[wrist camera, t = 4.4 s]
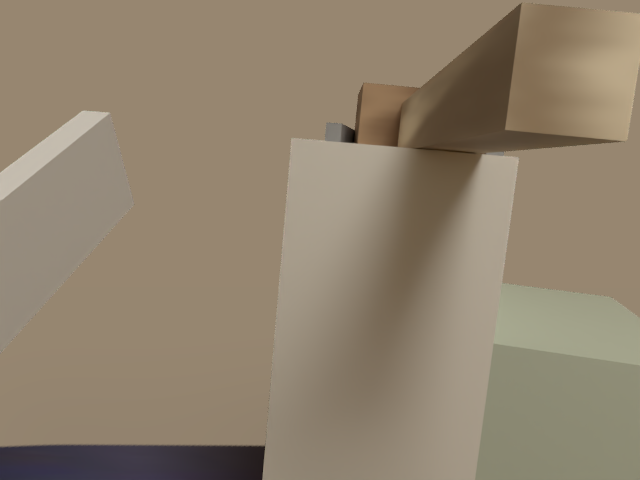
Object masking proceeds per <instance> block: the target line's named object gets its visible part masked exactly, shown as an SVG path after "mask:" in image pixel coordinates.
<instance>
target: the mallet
mask: <svg viewBox="0 0 640 480" xmlns="http://www.w3.org/2000/svg"><path fill="white" fill-rule="evenodd" d="M639 63H640V14H639V13H629V12H628V13H627V12H617V11H607V10H596V9H585V8H575V7H564V6H554V5H542V4H532V3H521V4H520V5H518V6H517V7H516V8H515V9H514V10H512V11H511V12H510V13H509V14H508V15H506V16H505V17H504V18H503V19H502V20H500V21H499V22H498V23H497V24H496V25H495V26H493V27H492V28H491V29H490V30H489V31H487V32H486V33H485V34H484V35H483V36H481V37H480V38H479V39H478V40H477V41H475V42H474V43H473V44H472V45H471V46H470V47H468V48H467V49H466V50H465V51H464V52H462V53H461V54H460V55H459V56H458V57H457V58H455V59H454V60H453V61H452V62H450V63H449V64H448V65H447V66H446V67H445V68H443V69H442V70H441V71H440V72H439V73H437V74H436V75H435V76H434V77H433V78H432V79H430V80H429V81H428V82H427V83H426V84H424V85H423V86H422V87H421V88H415V87H404V86H394V85H383V84H372V83H363V85H362V87H361V90H360V92H359V95H358V104H357V113H356V123H355V134H354V143H356V144H368V145H380V146H391V147H403V148H415V149H427V150H438V151H450V152H462V153H474V154H485V153H492V152H504V151H516V150H528V149H540V148H552V147H563V146H577V145H588V144H601V143H613V142H625V141H627V138H628V131H629V125H630V119H631V113H632V107H633V100H634V94H635V87H636V82H637V75H638V69H639Z"/></svg>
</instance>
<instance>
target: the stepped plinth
mask: <svg viewBox="0 0 640 480" xmlns="http://www.w3.org/2000/svg"><path fill="white" fill-rule="evenodd" d="M354 134H355V130H353V129H351V128H349V127H347V126H345V125H343V124H338V123H326V134H325V141H320V140H309V139H297V138H292V140H291V152H290V164H289V177H288V187H287V199H286V211H285V222H284V233H283V245H282V257H281V270H280V281H279V292H278V303H277V315H276V327H275V338H274V339H275V340H274V351H273V362H272V373H271V385H270V398H269V408H268V420H267V432H266V443H265V455H264V467H263V478H262V480H640V318H639V317H638V316H636V315H635V314H634V313H632V312H631V311H630V310H628V309H627V308H626V307H624V306H623V305H621V304H620V303H619V302H617V301H616V300H615V299H613V298H612V297H606V296H599V295H591V294H583V293H575V292H568V291H560V290H551V289H544V288H536V287H529V286H520V285H513V284H505V283H502V278H503V271H504V263H505V256H506V249H507V241H508V234H509V227H510V219H511V212H512V205H513V197H514V190H515V183H516V175H517V168H518V161H519V157H509V156H503V154H504V152H492V153H485V154H474V153H462V152H450V151H438V150H427V149H415V148H403V147H391V146H380V145H368V144H356V143H354Z"/></svg>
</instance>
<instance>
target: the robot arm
mask: <svg viewBox="0 0 640 480" xmlns="http://www.w3.org/2000/svg"><path fill="white" fill-rule="evenodd" d="M133 205H134V201H133V197H132V194H131V190H130V186H129V183H128V179H127V175H126V171H125V167H124V164H123V160H122V156H121V152H120V149H119V145H118V141H117V137H116V134H115V130H114V126H113V122H112V119H111V115H110V113H106V112H94V111H82V112H81V113H79V114H78V115H77V116H75V117H74V118H73V119H71V120H70V121H69V122H68V123H66V124H65V125H63V126H62V127H61V128H60V129H58V130H57V131H55V132H54V133H53V134H51V135H50V136H49V137H47V138H46V139H44V140H43V141H42V142H40V143H39V144H38V145H37V146H35V147H34V148H32V149H31V150H30V151H28V152H27V153H26V154H24V155H23V156H22V157H20V158H19V159H18V160H16V161H15V162H14V163H12V164H11V165H10V166H8V167H7V168H6V169H4V170H3V171H2V172H1V173H0V353H1V352H2V351H3V350H4V349H5V348H6V347H7V345H8V344H9V343H10V342H11V341H12V340H13V339H14V338H15V336H16V335H17V334H18V333H19V332H20V331H21V330H22V329H23V328H24V327H25V325H26V324H27V323H28V322H29V321H30V320H31V319H32V318H33V316H34V315H35V314H36V313H37V312H38V311H39V310H40V309H41V307H42V306H43V305H44V304H45V303H46V302H47V301H48V300H49V299H50V298H51V296H52V295H53V294H54V293H55V292H56V291H57V290H58V289H59V288H60V286H61V285H62V284H63V283H64V282H65V281H66V280H67V279H68V278H69V276H70V275H71V274H72V273H73V272H74V271H75V270H76V269H77V267H78V266H79V265H80V264H81V263H82V262H83V261H84V260H85V259H86V257H87V256H88V255H89V254H90V253H91V252H92V251H93V250H94V248H95V247H96V246H97V245H98V244H99V243H100V242H101V241H102V239H104V237H105V236H106V235H107V234H108V233H109V232H110V231H111V230H112V228H113V227H114V226H115V225H116V224H117V223H118V222H119V221H120V219H121V218H122V217H123V216H124V215H125V214H126V213H127V212H128V211H129V210H130V208H131V207H132V206H133Z"/></svg>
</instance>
